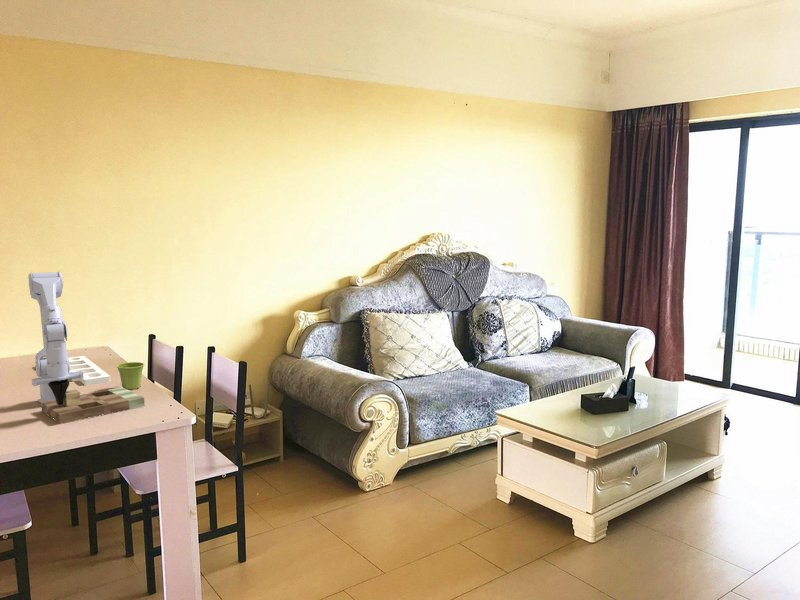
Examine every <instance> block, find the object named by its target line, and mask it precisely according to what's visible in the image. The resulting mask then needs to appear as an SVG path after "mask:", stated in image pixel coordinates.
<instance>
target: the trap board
mask: <svg viewBox="0 0 800 600" xmlns="http://www.w3.org/2000/svg"><path fill="white" fill-rule="evenodd" d="M80 403H81V404H78V405H73V406H66V405H64V404H62V405H58V404H57V402H56V400H51V401H45V402H41V403H40V404H41V406H40V407H41V412H42V411H43V412H42V413H44V412H45V413H46V414H45V413H44V414H45V415H47V414H48V415H49V416H50V417H49V416H48V415H47V416H48V417H49V418H51V417H52V418H54V419H55V420H56V421H55V420H54V419H53V420H54V421H55V422H57V421H58V422H59V424H60V423H63V424H66V423H65V422H67V423H70V421H72V422H75V421H74V420H77V421H80V420H79V419H82V420H85V419H84V418H86V419H89V418H88V417H91V418H95V417H94V416H96V417H99V415H101V416H103V415H102V414H105V415H109V414H108V413H110V414H113V413H112V412H115V413H118V411H120V412H123V410H125V411H128V409H129V410H134V409H138V408H137V407H139V408H143V407H142V406H144V407H145V406H146V405H145V396H142V395H139V394H138V393H136V392H133V391H131V390H130V389H125V388H123V387H122V386H121V387H115V388H112V389H106V390H100V391H95V392H89V393H84V394H80ZM133 408H134V409H133ZM52 418H51V419H52ZM58 422H57V423H58Z"/></svg>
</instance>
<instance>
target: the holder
mask: <svg viewBox="0 0 800 600" xmlns="http://www.w3.org/2000/svg"><path fill="white" fill-rule="evenodd" d="M68 358H69V364H70V372H79V371H82V372H83V376H84V378H78V379H71V380H70V381H72V382H80V383H82V384H83V385H84V386H91V385H99V384H105V382H106V383H110V382H111V375H110V374H108V373H107V372H106V371H104V370H103V368H101V367H99V365H97V364H95V362H93V361H91V360H90V359H89V358H87V356H85V355H81V356H79V355H78V356H70V357H68ZM70 372H69V373H70Z"/></svg>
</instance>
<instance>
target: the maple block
mask: <svg viewBox="0 0 800 600" xmlns="http://www.w3.org/2000/svg"><path fill="white" fill-rule="evenodd" d="M80 395H81V391H79V390H78V389H71V390H66V393H65V396H64V400H63V404H64V405H66V406H73V405H78V404H81V403H80Z"/></svg>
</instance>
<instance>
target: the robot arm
mask: <svg viewBox="0 0 800 600" xmlns="http://www.w3.org/2000/svg"><path fill="white" fill-rule="evenodd" d="M27 278H28V287H29V295H30V298H31V299H32V300H35V301H37V303H38V306H39V312H40V322H41V332H42V342H43V343H42V344H43V348H42V349H40V350H39V351H37V352H36V354H35V358H34V359H35V372H36V376H37V378H32V379H31V386H32V387H38V386H39V392H40V397H39V399H37V402H38V403H40V404H41V402H45V401H51V400H56V402H57V404H58V405H62V404H63V400H64V396H65V393H66V391H68V388H69V386H70V381H72V380H71V379H78V378H84V376H83V372H82V371H79V372H70V364H69V358H70V357H69V353H68V351H67V341H68V328H67V324H66V322H65V320H64V318H63V312H62V309H61V307H60V306H57V299H58V298H60V297H62V294H63V288H64V282H63V274H62V272H61V271H55V272H53V271H52V272H51V271H50V272H29V273H28V277H27ZM69 372H70V373H69ZM69 380H70V381H69Z"/></svg>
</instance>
